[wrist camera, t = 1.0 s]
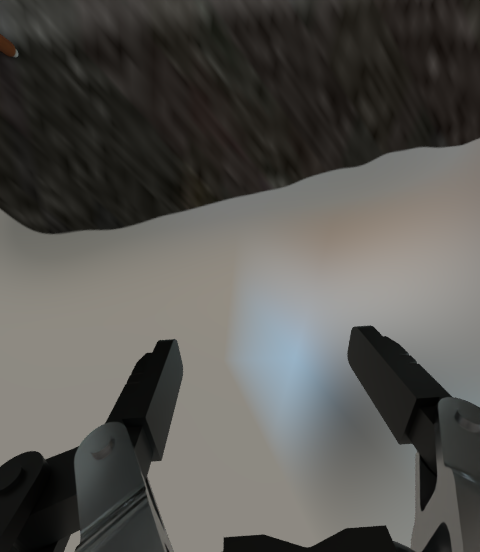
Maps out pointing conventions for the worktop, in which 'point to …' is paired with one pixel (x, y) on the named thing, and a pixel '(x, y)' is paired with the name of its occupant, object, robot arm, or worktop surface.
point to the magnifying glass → (7, 47)
